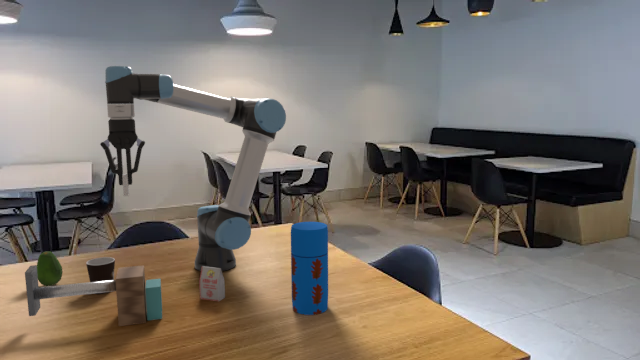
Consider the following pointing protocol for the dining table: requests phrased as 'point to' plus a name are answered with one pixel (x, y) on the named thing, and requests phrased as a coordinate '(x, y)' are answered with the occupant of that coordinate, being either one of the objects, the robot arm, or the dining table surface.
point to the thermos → (309, 267)
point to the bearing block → (131, 295)
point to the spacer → (153, 299)
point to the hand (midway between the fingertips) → (126, 195)
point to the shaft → (59, 289)
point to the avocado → (48, 269)
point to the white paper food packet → (211, 284)
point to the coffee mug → (101, 269)
